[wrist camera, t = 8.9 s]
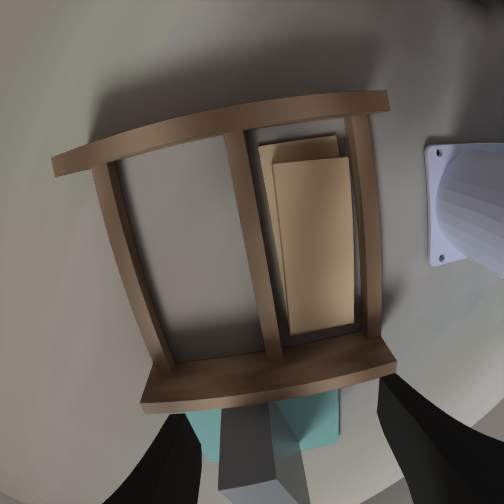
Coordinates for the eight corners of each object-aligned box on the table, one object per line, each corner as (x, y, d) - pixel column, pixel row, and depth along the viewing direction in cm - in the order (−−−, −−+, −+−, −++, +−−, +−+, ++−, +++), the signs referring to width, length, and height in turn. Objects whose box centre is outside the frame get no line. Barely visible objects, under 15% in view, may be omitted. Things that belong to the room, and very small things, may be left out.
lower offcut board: (330, 135, 18) (336, 135, 17) (348, 313, 22) (354, 322, 20) (257, 146, 18) (258, 146, 17) (287, 326, 22) (290, 336, 21)
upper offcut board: (341, 156, 17) (348, 157, 16) (348, 313, 20) (353, 322, 19) (270, 162, 17) (273, 164, 16) (288, 323, 20) (290, 333, 19)
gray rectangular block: (266, 386, 21) (276, 479, 14) (299, 442, 24) (313, 519, 16) (221, 400, 22) (217, 490, 14) (261, 453, 24) (267, 528, 17)
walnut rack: (357, 99, 16) (386, 90, 12) (374, 338, 21) (395, 373, 17) (86, 153, 16) (51, 157, 13) (157, 375, 22) (145, 413, 18)
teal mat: (336, 369, 22) (338, 374, 21) (336, 438, 25) (338, 442, 24) (177, 393, 22) (176, 399, 22) (208, 457, 25) (208, 462, 25)
